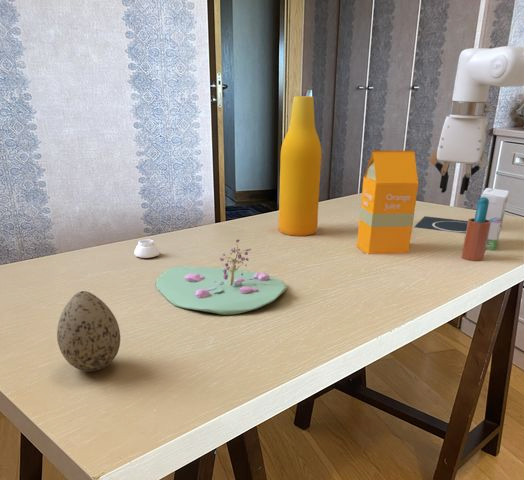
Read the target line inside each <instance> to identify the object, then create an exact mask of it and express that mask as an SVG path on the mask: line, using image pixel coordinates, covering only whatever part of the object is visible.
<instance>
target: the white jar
mask: <svg viewBox="0 0 524 480" xmlns="http://www.w3.org/2000/svg"><path fill="white" fill-rule="evenodd" d="M137 243H138V244H136V246H135V248H134V251H133V254H134V256H136V257H137V258H141V259H151V258H155V257H157V256H160V254H161V251H160V249H159V247H158V245H157V244H156V243H155V240H153V239H149V238H147V239H146V238H145V239H144V238H143V239H139V240H138V242H137Z"/></svg>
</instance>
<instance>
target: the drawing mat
mask: <svg viewBox="0 0 524 480" xmlns="http://www.w3.org/2000/svg"><path fill="white" fill-rule="evenodd" d="M467 224H468V220H461V219H452V218H444V217H434V216H426V215H425V216H423V217H422V219H420V220H419V222H417V223H416V224H415V225H414V229H415V228H416V229H425V230H431V231H442V232H450V233H458V234H464V235H465V234H466V229H467Z"/></svg>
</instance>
